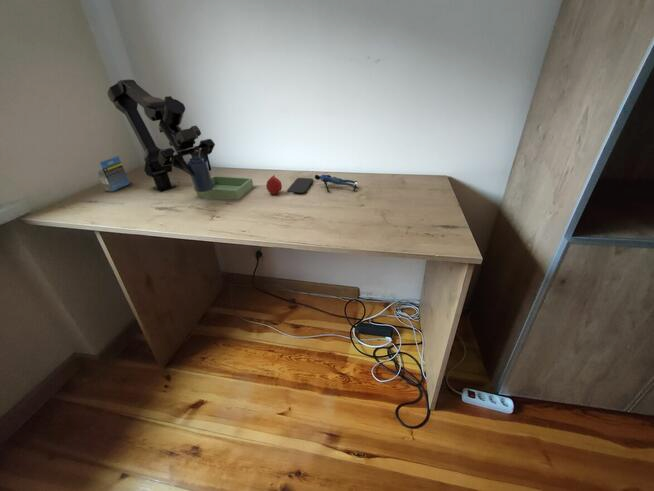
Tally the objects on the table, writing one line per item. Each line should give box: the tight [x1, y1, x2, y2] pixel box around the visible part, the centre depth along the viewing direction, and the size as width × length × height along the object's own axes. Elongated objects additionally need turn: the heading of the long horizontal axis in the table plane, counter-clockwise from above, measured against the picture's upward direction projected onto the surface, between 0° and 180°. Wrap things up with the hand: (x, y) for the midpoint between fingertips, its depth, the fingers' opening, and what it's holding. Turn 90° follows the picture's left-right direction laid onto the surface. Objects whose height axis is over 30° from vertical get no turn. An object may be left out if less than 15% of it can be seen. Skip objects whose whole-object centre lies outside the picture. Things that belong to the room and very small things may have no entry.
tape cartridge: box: [97, 155, 131, 193], centre depth 122 cm, size 9×4×12 cm, turn 164°
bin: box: [195, 175, 254, 201], centre depth 117 cm, size 17×13×4 cm
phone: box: [286, 177, 314, 195], centre depth 122 cm, size 7×1×15 cm
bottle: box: [187, 150, 213, 193], centre depth 101 cm, size 6×6×13 cm
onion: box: [265, 174, 283, 196], centre depth 113 cm, size 6×6×8 cm
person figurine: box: [314, 174, 359, 193], centre depth 119 cm, size 11×4×18 cm
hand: (202, 172), depth 100 cm, fingers closed on bottle, 6 cm apart
